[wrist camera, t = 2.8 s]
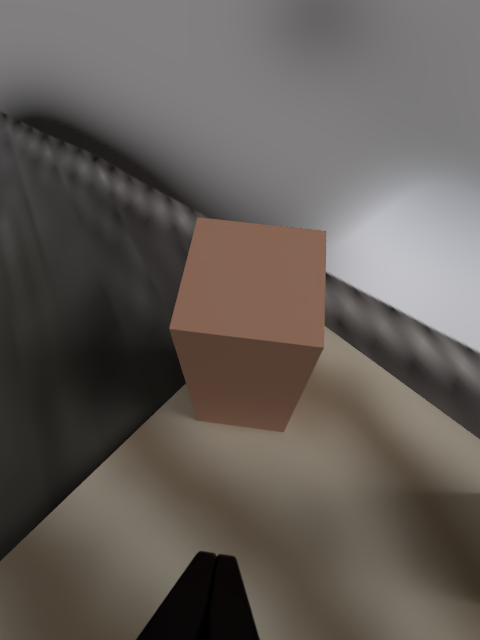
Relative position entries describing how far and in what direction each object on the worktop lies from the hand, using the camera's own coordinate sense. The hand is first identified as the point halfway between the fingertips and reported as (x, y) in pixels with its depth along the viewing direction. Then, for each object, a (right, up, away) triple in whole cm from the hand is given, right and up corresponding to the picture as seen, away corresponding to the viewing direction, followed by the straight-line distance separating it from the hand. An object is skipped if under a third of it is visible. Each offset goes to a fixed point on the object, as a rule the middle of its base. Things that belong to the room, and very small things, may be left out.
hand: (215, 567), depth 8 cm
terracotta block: (+1, +2, +12) cm, 13 cm away
